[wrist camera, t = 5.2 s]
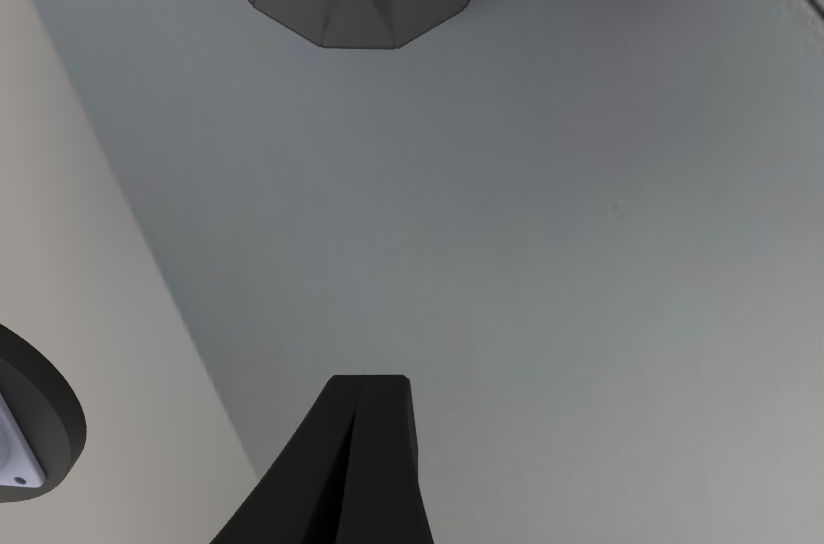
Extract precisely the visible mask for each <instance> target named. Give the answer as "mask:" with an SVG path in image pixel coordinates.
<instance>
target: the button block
mask: <svg viewBox="0 0 824 544" xmlns="http://www.w3.org/2000/svg"><path fill="white" fill-rule="evenodd" d="M248 1H249V3H251V4H252V5H253V7H254V8H255V9H257V10H259V11H260V12H262V13H264V14H265V15H267V16H269V17H270V18H272V19H274V20H275V21H277V22H279V23H280V24H282V25H284V26H285V27H287V28H289V29H290V30H292V31H294V32H295V33H297V34H299V35H300V36H302V37H304V38H305V39H307V40H309V41H310V42H312V43H314V44H315V45H317V46H319V47H323V48H341V49H391V50H394V49H396V48H397V49H399V48H401V47H402V46H404V45H406V44H407V43H409V42H411V41H412V40H414V39H416V38H418V37H419V36H421V35H423V34H424V33H426V32H428V31H429V30H431V29H433V28H434V27H436V26H438V25H440V24H441V23H443V22H445V21H446V20H448V19H450V18H451V17H453V16H455V15H457V14H458V13H460V12H462V11H463V10H464V8H466V7H467V5H468V3H469V2H470V0H248Z"/></svg>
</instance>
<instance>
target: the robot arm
mask: <svg viewBox="0 0 824 544" xmlns="http://www.w3.org/2000/svg"><path fill="white" fill-rule="evenodd" d="M45 480H46V476H45V474H44V472H43V470H42V468H41V466H40V464H39V463H38V461H37V459H36V457H35V455H34V453H33V452H32V450H31V448H30V446H29V444H28V442H27V441H26V439H25V437H24V435H23V433H22V431H21V430H20V428H19V426H18V424H17V422H16V420H15V418H14V417H13V415H12V413H11V411H10V409H9V407H8V406H7V404H6V402H5V400H4V398H3V396H2V395H1V393H0V485H6V486H20V487H33V488H35V487H40V486H41V485H42V484H43V483H44V481H45ZM210 544H434V542H433V538H432V535H431V531H430V527H429V524H428V520H427V516H426V513H425V509H424V505H423V501H422V497H421V493H420V489H419V484H418V444H417V436H416V427H415V419H414V411H413V403H412V394H411V386H410V380H409V379H408V378H407V377H405V376H404V375H334V376H333V377H331V378H330V379H329V380H328V382H327V384H326V385H325V387H324V389H323V390H322V392H321V393H320V395H319V397H318V398H317V400H316V401H315V403H314V404H313V406H312V408H311V409H310V411H309V412H308V414H307V415H306V417H305V418H304V420H303V421H302V423H301V424H300V426H299V427H298V429H297V430H296V432H295V433H294V435H293V436H292V438H291V439H290V441H289V442H288V443H287V445H286V446H285V448H284V449H283V450H282V452H281V453H280V454H279V456H278V457H277V459H276V460H275V461H274V463H273V464H272V466H271V467H270V468H269V470H268V471H267V473H266V474H265V475H264V477H263V478H262V479H261V481H260V482H259V483H258V485H257V486H256V487H255V488H254V490H253V491H252V492H251V493H250V495H249V496H248V497H247V499H246V500H245V501H244V502H243V503H242V505H241V506H240V507H239V509H238V510H237V511H236V512H235V514H234V515H233V516H232V518H231V519H230V520H229V521H228V522H227V524H226V525H225V526H224V527H223V528H222V530H221V531H220V532H219V533H218V534H217V535H216V537H215V538H214V539H213V540H212V541H211V542H210Z"/></svg>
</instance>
